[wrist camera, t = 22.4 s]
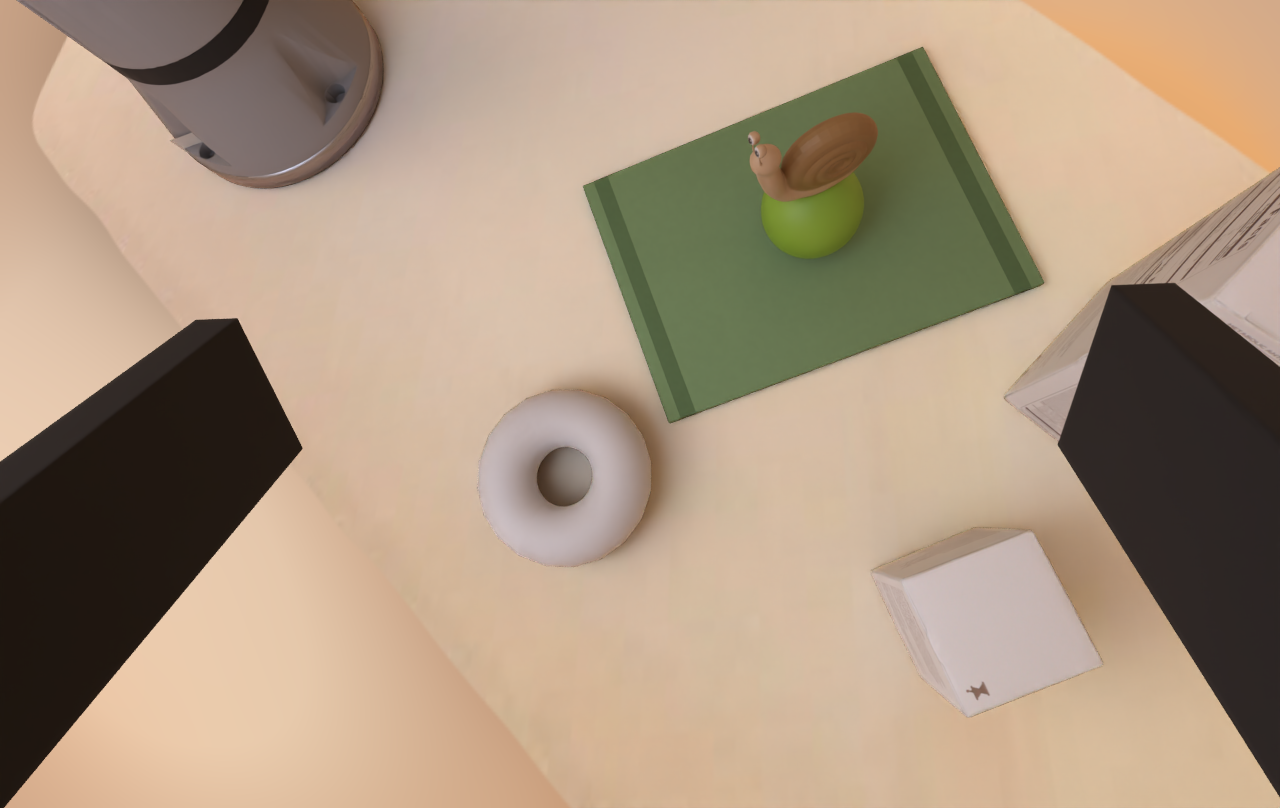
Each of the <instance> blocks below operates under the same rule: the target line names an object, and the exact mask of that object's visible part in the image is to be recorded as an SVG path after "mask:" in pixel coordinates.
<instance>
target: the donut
mask: <svg viewBox="0 0 1280 808" xmlns="http://www.w3.org/2000/svg"><path fill="white" fill-rule="evenodd" d="M560 447H571V448H574V449H576V450H579V451H580V452H581V453H583V454H584V455H585V456H586V457H587V459H588V460H589V462H590V465H591V469H592V482H591V485H590V488H589V491H588V492H587V493H586V495H585V496H584V497H583V499H581V500H580V501H579V502H577V503H576V504H572V505H569V506H557V505H554V504H552V503H550V502H548V501H547V500H546V499H545V498H544V497H543V495H542V494H541V492H540V491H539V487H538V484H537V471H538V469H539V466H540V463H541V462H542V460H543V459H544V458H545V456H546V455H547V454H549V453H550V452H551V451H553V450H554V449H557V448H560ZM477 489H478V493H479V497H480V501H481V505H482V509H483V514H484V516H485V518H486V519H487V521H488V523H489V524H490V526H491V527H492V529H493V531H494V532H495V534H496V536H497V537H498V538H499V539H500V540H501V541H502V542H503V543H505V544H506V545H507V546H508V547H509V548H510V549H512V550H513V551H514V552H515V553H516V554H518V555H519V556H521V557H524V558H527V559H529V560H532V561H534V562H537V563H540V564H542V565H545V566H558V567H576V566H579V565H583V564H586V563H589V562H592V561H596V560H599V559H602V558H603V557H604V556H606V555H607V554H609V553H610V552H612V551H613V550H614V549H616V548H617V547H619V546H620V545H621V544H623V543H624V542H625V541H626V540H627V538H628V537H629V535H630V534H631V533H632V531H633V530H634V529H635V527H636V526H637V525H638V523H639V522H640V521H641V519H642V516H643V513H644V511H645V508H646V505H647V502H648V499H649V496H650V493H651V460H650V457H649V454H648V450H647V447H646V444H645V441H644V437H643V435H642V434H641V433H640V431H639V430H638V428H637V427H636V425H635V424H634V423H633V421H632V420H631V418H630V417H629V415H628V414H627V413H625V412H624V411H623V410H621V409H620V408H619V407H617V406H616V405H615V404H613V403H612V402H611V401H609V400H608V399H607V398H604V397H601V396H598V395H595V394H592V393H589V392H586V391H583V390H550V391H547V392H544V393H541V394H538V395H535V396H532V397H529V398H526V399H525V400H524V401H522V402H521V403H519V404H518V405H517V406H515V407H514V408H512V409H511V410H510V411H508V412H507V413H506V414H504V416H503V417H502V418H501V420H500V421H499V422H498V424H497V425H496V426H495V428H494V429H493V430H492V432H491V433H490V434H489V436H488V438H487V441H486V444H485V446H484V449H483V452H482V455H481V457H480V460H479V470H478V486H477Z"/></svg>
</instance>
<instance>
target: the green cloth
mask: <svg viewBox="0 0 1280 808" xmlns="http://www.w3.org/2000/svg"><path fill="white" fill-rule="evenodd" d="M846 113H862V114H866V115H868V116H869V117H871V118H872V119H873V120H874V122H875V123H876V125H877V129H878V137H877V141H876V144H875V146H874V148H873V149H872V151H871V152H870V154H869V155H868V156H867V157H866V158H865V159H864V161H863V162H862V163H861V164H860V165H859V166H858V168H857V169H856V170H855V171H854V174H855V175H856V177H857V178H858V180H859V182H860V185H861V187H862V191H863V196H864V210H863V215H862V219H861V222H860V224H859V227H858V229H857V230H856V232H855V234H854V235H853V236H852V238H851V239H850V240H849V241H848V242H847V243H846V244H845V245H844V246H843V247H842V248H840V249H839V250H837V251H835V252H834V253H832V254H829V255H827V256H824V257H820V258H814V259H803V258H797V257H794V256H791V255H789V254H787V253H785V252H783V251H781V250H780V249H779V248H778V247H776V246H775V245H774V244H773V242H772V241H771V240H770V239H769V237H768V235H767V234H766V232H765V229H764V227H763V223H762V218H761V203H762V198H763V194H764V190H763V189H762V187H761V185H760V183H759V182H758V179H757V176H756V174H755V173H754V172H753V171H752V169H751V166H750V156H751V154H752V152H753V150H752V145H751V144H750V143H749V141H748V135H749V133H751V132H753V131H756V132H758V133H759V134H760V141H759V143H758V144H756V145H754V150H755V147H756V146H757V145H759V144H772V145H775V146H776V147H777V148H778V149H779V150H780V152H781V156H782V159H781V163H782V160H783V157H784V155H785V154H786V152H787V151H788V149H789V148H790V147H791V145H792V144H793V143H794V142H795V141H796V140H797V139H798V138H799V137H800V136H802V135H803V134H804V133H805V132H807V131H808V130H810V129H811V128H813V127H814V126H816V125H818V124H819V123H821V122H823V121H825V120H827V119H830V118H832V117H835V116H838V115H841V114H846ZM781 163H780V166H779V167H780V168H781ZM583 188H584V191H585V193H586V196H587V199H588V202H589V204H590V207H591V210H592V213H593V215H594V218H595V221H596V224H597V226H598V229H599V232H600V235H601V237H602V240H603V243H604V246H605V248H606V251H607V254H608V257H609V259H610V262H611V265H612V268H613V270H614V273H615V276H616V279H617V281H618V284H619V287H620V290H621V292H622V295H623V298H624V301H625V303H626V306H627V309H628V312H629V314H630V317H631V320H632V323H633V325H634V328H635V331H636V334H637V336H638V339H639V342H640V345H641V347H642V350H643V353H644V356H645V358H646V361H647V364H648V367H649V369H650V372H651V375H652V378H653V380H654V383H655V386H656V389H657V391H658V394H659V397H660V400H661V402H662V405H663V408H664V411H665V413H666V416H667V419H668V422H669V423H672V422H675V421H678V420H680V419H683V418H686V417H688V416H691V415H694V414H696V413H699V412H702V411H705V410H707V409H710V408H713V407H715V406H718V405H721V404H723V403H726V402H729V401H731V400H734V399H737V398H739V397H742V396H745V395H748V394H750V393H753V392H756V391H758V390H761V389H764V388H766V387H769V386H772V385H774V384H777V383H780V382H782V381H785V380H788V379H791V378H793V377H796V376H799V375H801V374H804V373H807V372H809V371H812V370H815V369H817V368H820V367H823V366H825V365H828V364H831V363H834V362H836V361H839V360H842V359H844V358H847V357H850V356H852V355H855V354H858V353H860V352H863V351H866V350H868V349H871V348H874V347H877V346H879V345H882V344H885V343H887V342H890V341H893V340H895V339H898V338H901V337H903V336H906V335H909V334H911V333H914V332H917V331H920V330H922V329H925V328H928V327H930V326H933V325H936V324H938V323H941V322H944V321H946V320H949V319H952V318H954V317H957V316H960V315H963V314H965V313H968V312H971V311H973V310H976V309H979V308H981V307H984V306H987V305H989V304H992V303H995V302H997V301H1000V300H1003V299H1006V298H1008V297H1011V296H1014V295H1016V294H1019V293H1022V292H1024V291H1027V290H1030V289H1032V288H1035V287H1038V286H1041V285H1042V284H1043V283H1044V281H1043V279H1042V277H1041V275H1040V273H1039V271H1038V269H1037V267H1036V265H1035V263H1034V261H1033V259H1032V257H1031V255H1030V254H1029V252H1028V250H1027V248H1026V246H1025V244H1024V242H1023V240H1022V238H1021V236H1020V234H1019V232H1018V230H1017V228H1016V226H1015V224H1014V223H1013V221H1012V219H1011V217H1010V215H1009V213H1008V211H1007V209H1006V207H1005V205H1004V203H1003V201H1002V199H1001V197H1000V195H999V193H998V192H997V190H996V188H995V186H994V184H993V182H992V180H991V178H990V176H989V174H988V172H987V170H986V168H985V166H984V164H983V162H982V160H981V159H980V157H979V155H978V153H977V151H976V149H975V147H974V145H973V143H972V141H971V139H970V137H969V135H968V133H967V131H966V129H965V128H964V126H963V124H962V122H961V120H960V118H959V116H958V114H957V112H956V110H955V108H954V106H953V104H952V102H951V100H950V98H949V97H948V95H947V93H946V91H945V89H944V87H943V85H942V83H941V81H940V79H939V77H938V75H937V73H936V71H935V69H934V67H933V65H932V64H931V62H930V60H929V58H928V56H927V54H926V52H925V50H924V48H923V47H921V48H919V49H916V50H914V51H912V52H909V53H906V54H904V55H902V56H899V57H897V58H894V59H892V60H890V61H887V62H885V63H882V64H880V65H877V66H875V67H872V68H870V69H868V70H865V71H863V72H860V73H858V74H855V75H853V76H850V77H848V78H846V79H843V80H841V81H838V82H836V83H833V84H831V85H828V86H826V87H824V88H821V89H819V90H816V91H814V92H811V93H809V94H807V95H804V96H802V97H799V98H797V99H794V100H792V101H789V102H787V103H785V104H782V105H780V106H777V107H775V108H772V109H770V110H767V111H765V112H763V113H760V114H758V115H755V116H753V117H750V118H748V119H745V120H743V121H741V122H738V123H736V124H733V125H731V126H728V127H726V128H723V129H721V130H719V131H716V132H714V133H711V134H709V135H706V136H704V137H701V138H699V139H697V140H694V141H692V142H689V143H687V144H684V145H682V146H680V147H677V148H675V149H672V150H670V151H667V152H665V153H662V154H660V155H658V156H655V157H653V158H650V159H648V160H645V161H643V162H640V163H638V164H636V165H633V166H631V167H628V168H626V169H623V170H621V171H618V172H616V173H614V174H611V175H609V176H606V177H604V178H601V179H599V180H596V181H594V182H592V183H589V184H587V185H584V186H583Z"/></svg>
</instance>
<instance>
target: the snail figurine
mask: <svg viewBox="0 0 1280 808" xmlns="http://www.w3.org/2000/svg"><path fill="white" fill-rule="evenodd" d="M877 137H878V129H877V125H876V123H875V122H874V120H873V119H872V118H871V117H869V116H868V115H866V114H862V113H846V114H841V115H838V116H835V117H832V118H830V119H827V120H825V121H823V122H821V123H819V124H818V125H816V126H814V127H813V128H811V129H810V130H808V131H807V132H805V133H804V134H803V135H802V136H800V137H799V138H798V139H797V140H796V141H795V142H794V143H793V144H792V145H791V147H790V148H789V149H788V151H787V152H786V154H785V155H784V157H783V160H782V163H781V159H782V156H781V152H780V150H779V149H778V148H777V147H776V146H775V145H772V144H759V145H757V146H756V147H755V150H754V145H756V144H758V143H759V141H760V134H759V133H758V132H756V131H753V132H751V133H749V135H748V141H749V143H750V144H751V145H752V150H753V152H752V154H751V156H750V166H751V169H752V171H753V172H754V173H755V174H756V176H757V179H758V182H759V183H760V185H761V187H762V189H763V190H764V194H763V198H762V203H761V218H762V223H763V227H764V229H765V232H766V234H767V235H768V237H769V239H770V240H771V241H772V242H773V244H774V245H775V246H776V247H778V248H779V249H780V250H781V251H783V252H785V253H787V254H789V255H791V256H794V257H797V258H803V259H814V258H820V257H824V256H827V255H829V254H832V253H834V252H835V251H837V250H839V249H840V248H842V247H843V246H844V245H845V244H846V243H847V242H848V241H849V240H850V239H851V238H852V236H853V235H854V234H855V232H856V230H857V229H858V227H859V224H860V222H861V219H862V215H863V210H864V196H863V191H862V187H861V185H860V182H859V180H858V178H857V177H856V175H855V174H854V171H855V170H856V169H857V168H858V166H859V165H860V164H861V163H862V162H863V161H864V159H865V158H866V157H867V156H868V155H869V154H870V152H871V151H872V149H873V148H874V146H875V144H876V141H877ZM780 163H781V168H780V167H779V166H780Z"/></svg>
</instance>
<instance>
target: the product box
mask: <svg viewBox="0 0 1280 808" xmlns="http://www.w3.org/2000/svg"><path fill="white" fill-rule="evenodd" d="M871 574H872V577H873V579H874V581H875V583H876V586H877V588H878V590H879V592H880V594H881V597H882V599H883V601H884V603H885V605H886V607H887V609H888V612H889V614H890V616H891V618H892V620H893V622H894V624H895V626H896V628H897V630H898V633H899V635H900V637H901V639H902V641H903V643H904V645H905V647H906V649H907V651H908V653H909V655H910V657H911V659H912V661H913V663H914V665H915V667H916V669H917V671H918V673H919V675H920V677H921V678H922V679H923V680H924V681H925V682H926V683H928V684H929V685H930V686H931V687H932V688H933V689H934V690H936V691H937V692H938V693H939V694H940V695H941V696H942V697H944V698H945V699H946V700H947V701H948V702H950V703H951V704H952V705H953V706H954V707H955V708H956V709H958V710H959V711H960V712H961V713H962V714H963V715H965V716H966V717H973V716H975V715H978V714H980V713H983V712H985V711H988V710H991V709H993V708H996V707H998V706H1001V705H1003V704H1006V703H1009V702H1011V701H1014V700H1016V699H1019V698H1021V697H1024V696H1026V695H1029V694H1032V693H1034V692H1037V691H1039V690H1042V689H1045V688H1047V687H1050V686H1052V685H1055V684H1057V683H1060V682H1062V681H1065V680H1068V679H1070V678H1073V677H1075V676H1078V675H1080V674H1083V673H1085V672H1088V671H1090V670H1093V669H1095V668H1098V667H1101V666H1102V665H1103V661H1102V659H1101V657H1100V655H1099V653H1098V651H1097V650H1096V648H1095V646H1094V644H1093V642H1092V640H1091V638H1090V636H1089V634H1088V632H1087V630H1086V629H1085V627H1084V625H1083V623H1082V621H1081V619H1080V617H1079V615H1078V613H1077V611H1076V610H1075V608H1074V606H1073V604H1072V602H1071V600H1070V598H1069V596H1068V594H1067V593H1066V591H1065V589H1064V587H1063V585H1062V583H1061V581H1060V580H1059V578H1058V576H1057V574H1056V572H1055V570H1054V568H1053V567H1052V565H1051V563H1050V561H1049V559H1048V557H1047V556H1046V554H1045V552H1044V550H1043V548H1042V546H1041V545H1040V543H1039V541H1038V539H1037V537H1036V535H1035V534H1034V532H1033V531H1032V530H1024V529H1006V528H980V527H978V528H977V527H975V528H971V529H969V530H966V531H964V532H962V533H959V534H957V535H954V536H952V537H950V538H947V539H945V540H942V541H940V542H937V543H935V544H933V545H930V546H928V547H925V548H923V549H921V550H918V551H916V552H914V553H911V554H909V555H907V556H904V557H902V558H899V559H897V560H895V561H892V562H890V563H887V564H885V565H883V566H880V567H878V568H875V569H873V570H871Z"/></svg>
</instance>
